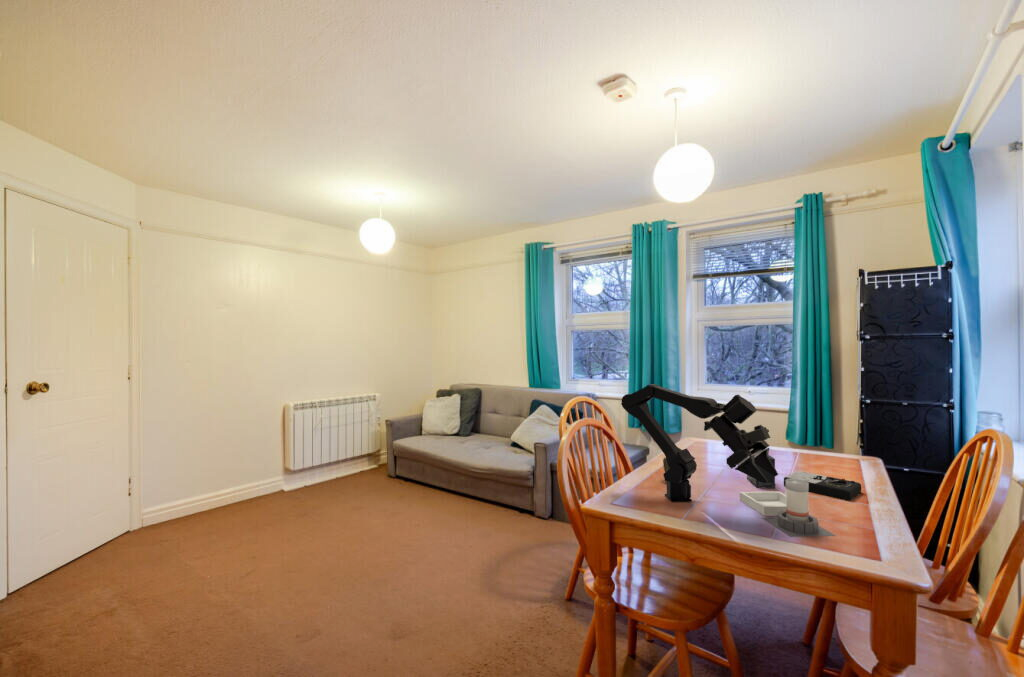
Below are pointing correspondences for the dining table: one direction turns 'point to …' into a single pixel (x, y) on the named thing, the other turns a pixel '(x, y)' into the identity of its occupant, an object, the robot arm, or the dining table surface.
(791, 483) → the cylinder
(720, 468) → the dining table surface
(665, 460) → the cup
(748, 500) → the tray
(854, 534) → the dining table surface
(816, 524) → the fuse holder
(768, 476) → the small box
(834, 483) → the multimeter
